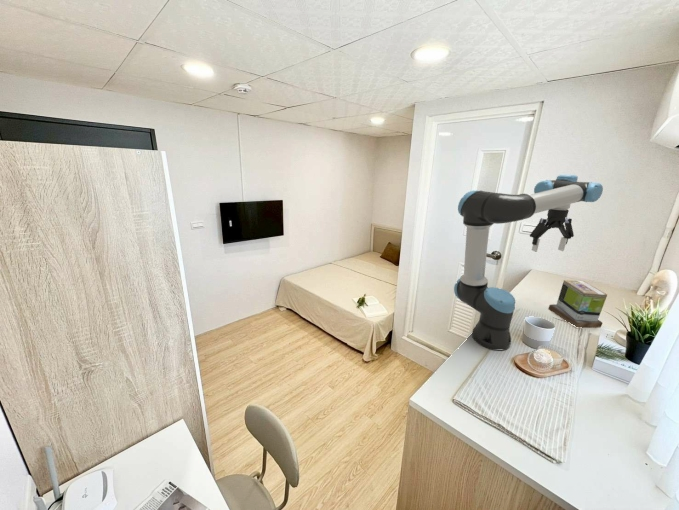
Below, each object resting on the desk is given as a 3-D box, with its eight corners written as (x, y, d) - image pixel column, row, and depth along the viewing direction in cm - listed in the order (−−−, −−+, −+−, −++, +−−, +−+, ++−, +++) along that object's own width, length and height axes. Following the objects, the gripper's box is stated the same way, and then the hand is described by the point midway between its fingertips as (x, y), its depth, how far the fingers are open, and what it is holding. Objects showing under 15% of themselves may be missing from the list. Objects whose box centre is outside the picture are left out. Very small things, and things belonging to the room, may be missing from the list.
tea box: (598, 322, 123) (608, 294, 118) (574, 320, 125) (583, 293, 120) (576, 305, 137) (585, 280, 132) (555, 304, 139) (563, 279, 134)
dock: (575, 328, 124) (577, 322, 123) (548, 309, 140) (549, 304, 139) (600, 327, 124) (602, 322, 123) (570, 308, 140) (571, 303, 139)
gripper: (577, 206, 128) (565, 247, 135) (527, 207, 127) (518, 248, 134) (591, 209, 120) (578, 252, 128) (538, 210, 120) (528, 253, 127)
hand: (547, 250), depth 131 cm, fingers open, 13 cm apart
